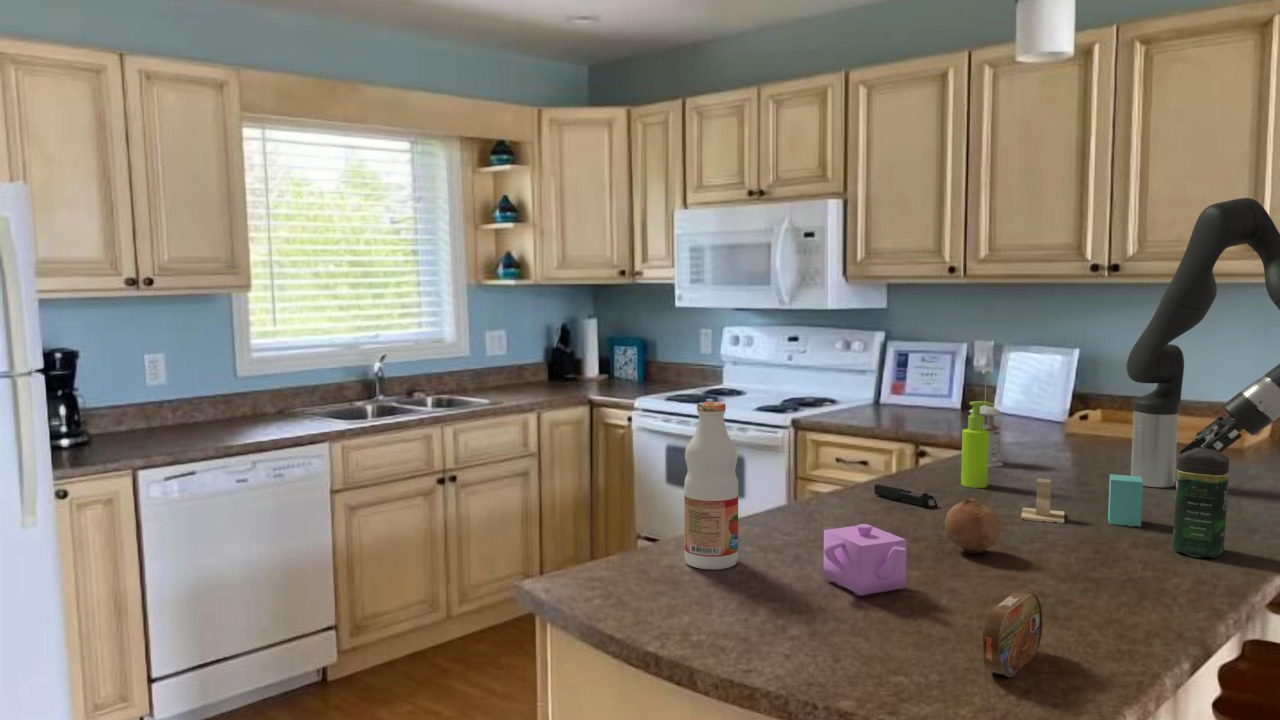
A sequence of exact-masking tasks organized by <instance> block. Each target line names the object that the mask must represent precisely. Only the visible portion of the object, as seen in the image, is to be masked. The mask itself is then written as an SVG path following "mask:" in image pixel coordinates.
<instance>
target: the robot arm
mask: <svg viewBox="0 0 1280 720" xmlns="http://www.w3.org/2000/svg"><path fill="white" fill-rule="evenodd" d="M1191 232H1192V233H1191V235H1190V238H1189V240H1188V244H1187V246H1186V249H1185V252H1184V253H1183V256H1182V258H1181V261H1180V263H1179V265H1178V267H1177V269H1176V271H1175V273H1174V276H1173V278H1172V279H1171V281H1170V283H1169V284H1168V286H1167V288H1166V289H1165V291H1164V294H1163V295H1162V298H1161V300H1160V302H1159V305H1158V306H1157V308H1156V310H1155V312H1154V314H1153V315H1152V318H1151V319H1150V321H1149V323H1148V325H1147V326H1146V327H1145V329H1144V330H1143V332H1142V333H1141V335H1140V336H1139V337H1138V339H1137V340H1136V342H1135V343H1134V344H1133V346H1132V349H1131V350H1130V352H1129V354H1128V356H1127V357H1128V358H1127V362H1126V372H1127V373H1126V374H1127V376H1128V378H1129V379H1130V380H1131V381H1133V382H1135V383H1138V384H1139V383H1140V384H1157V385H1156V387H1155V389H1153V390H1152V391H1151V392H1149V393H1147V394H1145V395H1142V396H1140V397H1137V398H1136V399H1134V402H1133V413H1132V414H1133V415H1132V416H1133V418H1132V437H1131V438H1132V439H1131V461H1130V463H1131V464H1130V476H1139V477H1141V478H1142V481H1143V487H1150V488H1151V487H1152V488H1171V487H1174V486H1176V470H1177V448H1178V447H1177V446H1178V445H1177V441H1178V424H1179V423H1178V421H1179V420H1178V418H1179V407H1180V403H1181V401H1182V400H1181V399H1182V389H1183V381H1184V371H1185V357H1184V353H1183V350H1182V348H1180V347H1179V346H1178V345H1177V344H1170V342H1172V341H1173V340H1175V339H1177V338H1179V337H1180V336H1182V335H1183V334H1185V333H1187V332H1188V331H1190V330H1191V329H1193V328H1195V327H1196V326H1198V324H1200V323H1201V322H1202V321H1203V320H1204V318H1205V317H1206V316H1207V314H1208V312H1209V310H1210V309H1211V306H1212V305H1213V303H1214V301H1215V298H1216V297H1217V292H1218V290H1217V289H1218V286H1217V282H1216V278H1215V276H1214V271H1213V270H1214V267H1215V265H1216V263H1217V262H1218V260H1219V258H1220V256H1221V255H1222V254H1223V252H1224V251H1226V249H1228V248H1231V247H1236V246H1241V245H1246V244H1247V245H1248V246H1249V247H1250V248H1251V249H1252V250H1253V251H1254V252H1255V253H1256V254H1257V255H1258V256H1259V258H1260V260H1261V262H1262V264H1263V270H1264V271H1263V272H1264V284H1265V288H1266V289H1265V290H1266V292H1267V295H1268V297H1269V298H1270V300H1271V302H1273V304H1274V305H1275V306H1276V308H1277V309H1278V310H1279V311H1280V232H1279V230H1278V229H1277V226H1276V224H1275V223H1274V221H1273V219H1272V218H1271V216H1270V215H1269V213H1268V212H1267V210H1266V208H1264V206H1263V205H1262V204H1261V203H1260V202H1259V201H1258V200H1256V199H1254V198H1250V197H1242V198H1236V199H1235V198H1234V199H1232V200H1226V201H1221V202H1216V203H1214V204H1210V205H1209V206H1207V207H1205V208H1204V209H1203V210H1202V211H1201V213H1200V214H1199V215H1198V217H1197V219H1196V222H1195V224H1194V227H1193V229H1192V231H1191ZM1221 408H1222V409H1223V411H1224V412H1225V413H1227V416H1226V417H1225V418H1224V417H1223V416H1222V415H1221V416H1219V417H1217V418H1216V419H1215V420H1213V421H1212V422H1211V423H1210V424H1208V425H1207V426H1205V427H1204V428H1203V429H1201V430H1200V431H1199V432H1196V434H1195V437H1194V440H1192V441H1191V442H1189V443H1188V444H1186V445H1185V446H1183V448H1182V449H1180V450H1179V455H1181V454H1182V453H1184V452H1186V451H1189V450H1192V449H1194V448H1204V449H1213V450H1219V451H1220V452H1221V453H1222V452H1223V451H1225V450H1227V449H1228V448H1229V447H1230V446H1231V445H1233V444H1234V443H1235V442H1237V441H1238V440H1240V439H1241V438H1242V436H1243V435H1242V433H1241V431H1242V430H1244V431H1246V432H1247V434H1249V435H1250V436H1255V435H1256V434H1258V433H1259V432H1261V431H1262V430H1263V429H1265V428H1266V427H1267V426H1269V425H1270V424H1271V423H1273V422H1274V421H1276V420H1278V418H1280V363H1279V364H1277V365H1276V366H1275V367H1273V368H1271V370H1269V371H1267V373H1265V374H1264V375H1263V376H1261V377H1259V378H1258V379H1256V380H1254V381H1253V382H1251V383H1250V384H1248V385H1247V386H1246V387H1245V388H1243V389H1242V390H1241V391H1239V392H1238V393H1237V394H1236V395H1235V396H1233V397H1232V398H1231V399H1229V400H1227V402H1225V403H1223V405H1222V406H1221Z"/></svg>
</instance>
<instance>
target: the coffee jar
mask: <svg viewBox="0 0 1280 720" xmlns="http://www.w3.org/2000/svg"><path fill="white" fill-rule="evenodd" d="M1229 467H1230V459H1229V456H1227V455H1226V454H1223V453H1222V452H1220V451H1219V450H1213V449H1204V448H1194V449H1192V450H1189V451H1186V452H1184V453H1182V454H1179V455H1178V458H1176V476H1175V495H1174V496H1175V499H1174V518H1173V531H1172V548H1173V550H1174V552H1178V553H1181V554H1184V555H1185V554H1186V555H1187V556H1189V557H1194V558H1204V557H1205V558H1217V557H1220V556H1221V555H1222V554H1223V553H1224V550H1225V538H1226V522H1227V511H1228V510H1227V508H1228V498H1229V497H1228V496H1229V495H1228V493H1229V474H1230V471H1229V470H1230V469H1229Z"/></svg>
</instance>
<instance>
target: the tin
mask: <svg viewBox="0 0 1280 720" xmlns="http://www.w3.org/2000/svg"><path fill="white" fill-rule="evenodd" d="M1042 633H1043V610H1042V605H1041V600H1040V599H1039V597H1038V595H1037V594H1035V593H1023V592H1017V591H1016V592H1013V593H1011V594H1009V595H1008V596H1007V597H1005V598H1004V599H1003V600H1001V601H1000V602H999V603H998V604H996V605H995V606H994V607H992V608H991V609H990V610H989V611H988V612H987V615H986V617H985V619H984V622H983V625H982V631H981V638H982V655H983V657H982V658H983V659H982V661H983V665H984V667H985V669H986V670H987V671H989V672H990V673H992V674H997V675H1001V676H1005V677H1007V678H1012V677H1014V676H1016V674H1017V673H1018V672H1019V671H1021V669H1023V668H1024V667H1025V666H1026V665H1027V664H1028V663H1029V662H1030V661H1032V660H1033V659H1034V657H1035V656H1036V654H1037V652H1038V650H1039V648H1040V644H1041V639H1042V635H1043V634H1042Z"/></svg>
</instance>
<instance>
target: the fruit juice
mask: <svg viewBox="0 0 1280 720" xmlns="http://www.w3.org/2000/svg"><path fill="white" fill-rule="evenodd" d="M726 407H727V406H726V403H724V402H719V401H704V402H703V401H702V402H699V403H697V406H696V410H697V412H696V413H697V414H698V422H697V426H696V429H695V433H694V435H693V436H692V438H691V439H690V440H689V442H688V443H687V444H686V447H685V451H684V458H685V459H684V460H685V464H686V466H687V472H686V475H685V478H684V486H683V487H684V488H683V497H684V499H683V502H684V503H683V504H684V505H683V507H684V508H683V509H684V510H683V512H684V513H683V518H684V519H683V524H684V525H683V526H684V527H683V533H684V534H683V535H684V536H683V537H684V540H683V543H684V545H683V548H684V551H683V552H684V553H683V554H684V560H685V563H686V564H687V565H688V566H690V567H693V568H696V569H701V570H711V571H712V570H725V569H728V568H732V567H734V566H735V565H736V564H738V559H739V480H738V477H737V474H736V467H737V463H738V457H739V456H738V447H737V446H736V444H735V443H734V441H733V440H732V439H731V437H730V435H729V434H728V430H727V428H726V424H725V419H724V417H725V414H726V411H727V410H726V409H727V408H726Z"/></svg>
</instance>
